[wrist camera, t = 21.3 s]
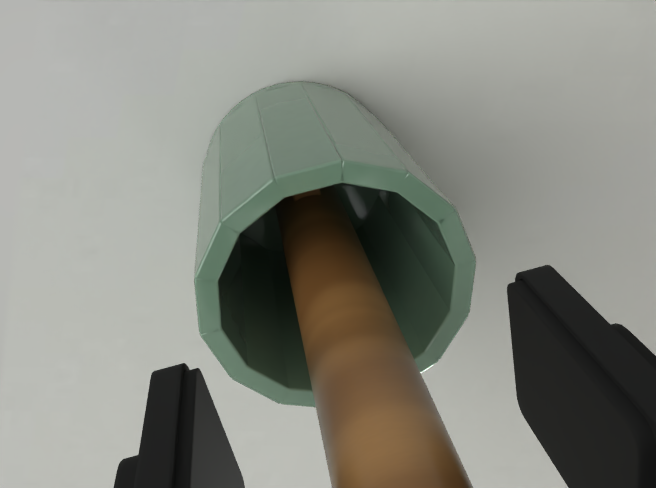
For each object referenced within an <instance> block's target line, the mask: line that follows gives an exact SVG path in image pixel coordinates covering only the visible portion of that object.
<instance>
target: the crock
mask: <svg viewBox="0 0 656 488" xmlns="http://www.w3.org/2000/svg"><path fill="white" fill-rule="evenodd" d="M331 185H334V186H335V188H336V190H337V193H338V195H339V197H340V199H341V201H342V203H343V206H344V208H345V210H346V212H347V214H348V216H349V219H350V221H351V223H352V225H353V227H354V230H355V232H356V234H357V236H358V238H359V240H360V243H361V245H362V247H363V249H364V251H365V253H366V256H367V258H368V260H369V262H370V264H371V267H372V269H373V271H374V273H375V275H376V277H377V280H378V282H379V284H380V286H381V288H382V290H383V293H384V295H385V297H386V299H387V301H388V304H389V306H390V308H391V310H392V312H393V314H394V317H395V319H396V321H397V323H398V325H399V327H400V330H401V332H402V334H403V336H404V338H405V341H406V343H407V345H408V347H409V349H410V351H411V354H412V356H413V358H414V360H415V362H416V364H417V367H418V369H419V371H420V373H423V372H424V371H425V370H427V369H428V368H430V367H431V366H432V365H434V364H435V363H437V362H438V360H439V359H440V358H441V357H442V355H443V354H444V352H445V351H446V349H447V348H448V346H449V345H450V343H451V341H452V340H453V338H454V337H455V335H456V334H457V332H458V331H459V329H460V328H461V326H462V324H463V323H464V321H465V320H466V318H467V317H468V313H469V312H470V305H471V297H472V290H473V282H474V275H475V267H476V257H475V254H474V252H473V249H472V247H471V244H470V242H469V239H468V237H467V234H466V232H465V229H464V227H463V224H462V222H461V219H460V217H459V214H458V212H457V210H456V209H455V207H454V206H453V205H452V203H451V202H450V201H449V200H448V199H447V198H446V197H445V195H444V194H443V193H442V192H441V191H440V190H439V189H438V187H437V186H436V185H435V184H434V183H433V182H432V180H431V179H430V178H429V177H428V176H427V175H426V174H425V172H424V171H423V170H422V169H421V168H420V167H419V166H418V164H417V163H416V162H415V161H414V160H413V159H412V157H411V156H410V155H409V154H408V153H407V152H406V151H405V149H404V148H403V147H402V146H401V145H400V144H399V143H398V141H397V140H396V139H395V138H394V137H393V136H392V134H391V133H390V132H389V131H388V130H387V129H386V128H385V126H384V125H383V124H382V123H381V122H380V121H379V120H378V118H376V117H375V116H374V115H373V114H371V113H370V112H369V111H368V110H367V109H366V108H365V107H364V106H363V105H362V104H361V103H359V102H358V101H357V100H355V99H354V98H353V97H351V96H350V95H348V94H347V93H344V92H342V91H341V90H339V89H336V88H333V87H330V86H328V85H324V84H319V83H314V82H302V81H301V82H287V83H281V84H276V85H273V86H270V87H267V88H264V89H262V90H260V91H258V92H255V93H253V94H251V95H250V96H248V97H247V98H245V99H244V100H242V101H241V102H240V103H239V104H237V105H236V106H235V107H234V108H233V109H232V110H231V111H230V112H229V113H228V114H227V115H226V116H225V118H224V119H223V120H222V122H221V123H220V125H219V126H218V128H217V129H216V131H215V133H214V135H213V137H212V139H211V141H210V145H209V148H208V151H207V155H206V158H205V160H204V163H203V170H202V183H201V196H200V209H199V222H198V235H197V248H196V261H195V274H194V285H195V295H196V306H197V316H198V326H199V332H200V336H201V337H202V338H203V340H204V341H205V343H206V344H207V345H208V347H209V348H210V350H211V351H212V352H213V354H214V355H215V357H216V358H217V359H218V361H219V362H220V364H221V365H222V366H223V368H224V369H225V371H226V372H227V373H228V375H229V376H230V377H231V378H232V379H233V380H235V381H237V382H238V383H240V384H242V385H244V386H246V387H248V388H250V389H252V390H254V391H256V392H258V393H259V394H261V395H263V396H265V397H267V398H269V399H271V400H273V401H275V402H277V403H279V404H280V403H281V404H284V405H296V406H308V407H316V406H315V401H314V396H313V391H312V386H311V381H310V376H309V371H308V366H307V361H306V356H305V351H304V346H303V342H302V337H301V332H300V327H299V322H298V317H297V312H296V307H295V302H294V297H293V292H292V287H291V283H290V278H289V273H288V268H287V263H286V258H285V253H284V248H283V243H282V238H281V233H280V228H279V223H278V219H277V214H276V209H275V205H276V204H278V203H279V202H280V201H281V200H282V199H284V198H285V197H289V196H293V195H297V194H301V193H304V192H308V191H312V190H316V189H320V188H324V187H327V186H331Z"/></svg>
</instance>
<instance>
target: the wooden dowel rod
mask: <svg viewBox="0 0 656 488" xmlns="http://www.w3.org/2000/svg"><path fill="white" fill-rule="evenodd" d="M275 209H276V214H277V219H278V223H279V228H280V233H281V238H282V243H283V248H284V253H285V258H286V263H287V268H288V273H289V278H290V283H291V287H292V292H293V297H294V302H295V307H296V312H297V317H298V322H299V327H300V332H301V337H302V342H303V346H304V351H305V356H306V361H307V366H308V371H309V376H310V381H311V386H312V391H313V396H314V401H315V406H316V410H317V415H318V420H319V425H320V430H321V435H322V440H323V445H324V450H325V455H326V460H327V465H328V470H329V474H330V479H331V484H332V488H473V486H472V484H471V482H470V480H469V478H468V475H467V473H466V471H465V469H464V467H463V465H462V462H461V460H460V458H459V456H458V454H457V452H456V449H455V447H454V445H453V443H452V441H451V438H450V436H449V434H448V432H447V430H446V428H445V425H444V423H443V421H442V419H441V417H440V415H439V412H438V410H437V408H436V406H435V404H434V401H433V399H432V397H431V395H430V393H429V391H428V388H427V386H426V384H425V382H424V380H423V378H422V375H421V373H420V371H419V369H418V367H417V364H416V362H415V360H414V358H413V356H412V354H411V351H410V349H409V347H408V345H407V343H406V341H405V338H404V336H403V334H402V332H401V330H400V327H399V325H398V323H397V321H396V319H395V317H394V314H393V312H392V310H391V308H390V306H389V304H388V301H387V299H386V297H385V295H384V293H383V290H382V288H381V286H380V284H379V282H378V280H377V277H376V275H375V273H374V271H373V269H372V267H371V264H370V262H369V260H368V258H367V256H366V253H365V251H364V249H363V247H362V245H361V243H360V240H359V238H358V236H357V234H356V232H355V230H354V227H353V225H352V223H351V221H350V219H349V216H348V214H347V212H346V210H345V208H344V206H343V203H342V201H341V199H340V197H339V195H338V193H337V190H336V188H335V186H334V185H331V186H327V187H324V188H320V189H316V190H312V191H308V192H304V193H301V194H297V195H293V196H289V197H285V198H284V199H282V200H281V201H280V202H279V203H278V204H276V205H275Z"/></svg>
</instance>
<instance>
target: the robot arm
mask: <svg viewBox="0 0 656 488" xmlns="http://www.w3.org/2000/svg"><path fill="white" fill-rule="evenodd" d="M507 295H508V305H509V316H510V327H511V338H512V349H513V360H514V371H515V382H516V392H517V400H518V404H519V407H520V410H521V412H522V414H523V416H524V418H525V420H526V421H527V423H528V424H529V426H530V427H531V429H532V431H533V432H534V434H535V435H536V437H537V438H538V440H539V442H540V443H541V445H542V446H543V448H544V450H545V451H546V453H547V454H548V456H549V457H550V459H551V461H552V462H553V464H554V465H555V467H556V468H557V470H558V472H559V473H560V475H561V476H562V478H563V480H564V481H565V483H566V484H567V486H568V487H569V488H656V356H655V355H654V354H653V353H652V352H651V351H650V350H649V349H648V348H647V347H646V346H645V345H644V344H643V343H641V342H640V341H639V340H638V339H637V338H636V337H635V336H634V335H633V334H632V333H631V332H630V331H629V330H628V329H626V328H625V327H624V326H622V325H620V324H616V323H615V324H612V325H610V324H609V323H608V322H607V321H606V320H605V319H604V318H603V317H602V316H601V315H600V314H599V313H598V312H597V311H596V310H595V309H594V308H593V307H592V306H591V305H590V304H589V303H588V302H587V301H586V300H585V299H584V298H583V297H582V296H581V295H580V294H579V293H578V292H577V291H576V290H575V289H574V288H573V287H572V286H571V285H570V284H569V283H568V282H567V281H566V280H565V279H564V278H563V277H562V276H561V275H560V274H559V273H558V272H557V271H556V270H555V269H554V268H552V267H551V266H550V265H545V266H541V267H538V268H534V269H530V270H527V271H523V272H519V273H517V274H516V278H515V282H514V283H510V284H508V287H507ZM114 488H245V486H244V481H243V477H242V474H241V471H240V469H239V466H238V464H237V461H236V459H235V456H234V454H233V451H232V449H231V446H230V444H229V441H228V438H227V436H226V433H225V431H224V428H223V426H222V423H221V421H220V418H219V416H218V413H217V411H216V408H215V406H214V403H213V400H212V398H211V395H210V393H209V390H208V388H207V385H206V383H205V380H204V378H203V375H202V373H201V371H200V369H199V368H196V369H192V370H189V368H188V366H187V365H186V364H185V363H183V364H179V365H175V366H172V367H168V368H164V369H161V370H157V371H154V372H153V373H152V375H151V380H150V386H149V392H148V399H147V405H146V411H145V418H144V424H143V430H142V437H141V443H140V449H139V455H137V456H133V457H129V458H126V459H123V460H122V461H121V462H120V463H119V466H118V470H117V474H116V479H115V484H114Z"/></svg>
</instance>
